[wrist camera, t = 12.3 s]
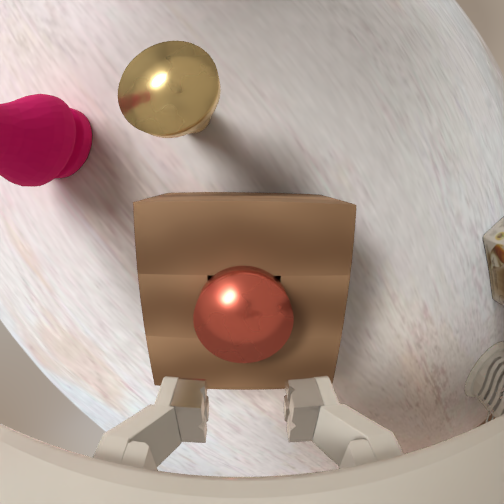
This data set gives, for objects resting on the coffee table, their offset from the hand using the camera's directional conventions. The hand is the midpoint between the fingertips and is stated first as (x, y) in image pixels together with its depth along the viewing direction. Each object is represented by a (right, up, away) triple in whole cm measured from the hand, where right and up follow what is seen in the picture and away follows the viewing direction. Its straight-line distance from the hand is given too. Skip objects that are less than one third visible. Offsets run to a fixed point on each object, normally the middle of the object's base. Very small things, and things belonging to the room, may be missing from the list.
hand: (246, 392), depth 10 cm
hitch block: (0, +4, +15) cm, 15 cm away
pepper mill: (-16, +15, +11) cm, 25 cm away
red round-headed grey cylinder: (-1, +4, +14) cm, 15 cm away
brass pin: (-4, +15, +11) cm, 20 cm away
